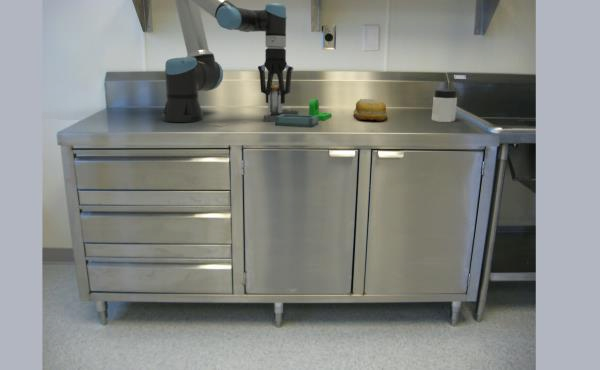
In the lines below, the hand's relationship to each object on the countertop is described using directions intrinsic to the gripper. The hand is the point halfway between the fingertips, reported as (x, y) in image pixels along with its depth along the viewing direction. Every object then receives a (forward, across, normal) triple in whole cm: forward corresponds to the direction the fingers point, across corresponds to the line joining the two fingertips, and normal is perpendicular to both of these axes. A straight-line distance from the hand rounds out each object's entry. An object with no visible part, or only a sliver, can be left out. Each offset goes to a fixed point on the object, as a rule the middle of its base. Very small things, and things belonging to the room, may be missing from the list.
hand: (275, 112), depth 190 cm
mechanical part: (+4, +15, +12) cm, 20 cm away
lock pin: (+3, 0, 0) cm, 3 cm away
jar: (+3, +62, +22) cm, 66 cm away
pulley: (+3, +1, +12) cm, 12 cm away
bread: (+4, +33, +21) cm, 40 cm away
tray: (+3, +11, -9) cm, 15 cm away
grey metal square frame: (+3, 0, 0) cm, 3 cm away
